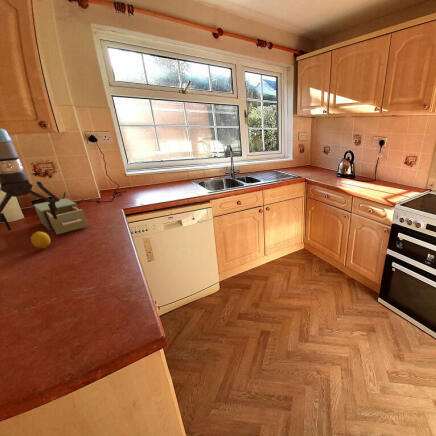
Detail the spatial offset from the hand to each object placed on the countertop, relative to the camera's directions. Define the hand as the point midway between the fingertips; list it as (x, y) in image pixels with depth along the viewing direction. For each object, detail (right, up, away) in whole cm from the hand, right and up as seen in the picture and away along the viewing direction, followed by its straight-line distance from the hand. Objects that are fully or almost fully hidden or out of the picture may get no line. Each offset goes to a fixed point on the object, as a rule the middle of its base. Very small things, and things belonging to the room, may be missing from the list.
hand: (33, 223), depth 100 cm
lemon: (0, -11, +4) cm, 12 cm away
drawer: (-6, -2, +23) cm, 24 cm away
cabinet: (-18, 0, +32) cm, 37 cm away
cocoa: (-33, +5, +47) cm, 58 cm away
